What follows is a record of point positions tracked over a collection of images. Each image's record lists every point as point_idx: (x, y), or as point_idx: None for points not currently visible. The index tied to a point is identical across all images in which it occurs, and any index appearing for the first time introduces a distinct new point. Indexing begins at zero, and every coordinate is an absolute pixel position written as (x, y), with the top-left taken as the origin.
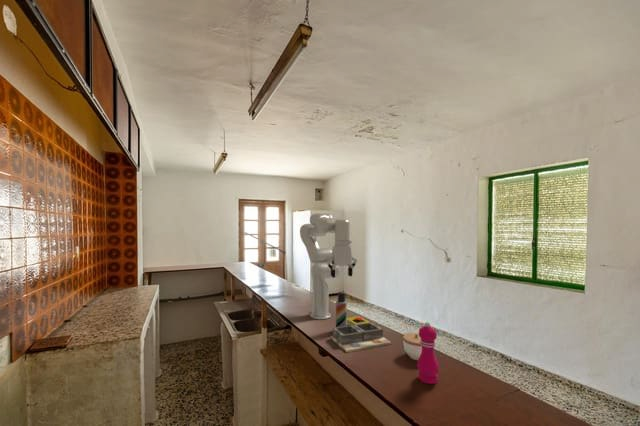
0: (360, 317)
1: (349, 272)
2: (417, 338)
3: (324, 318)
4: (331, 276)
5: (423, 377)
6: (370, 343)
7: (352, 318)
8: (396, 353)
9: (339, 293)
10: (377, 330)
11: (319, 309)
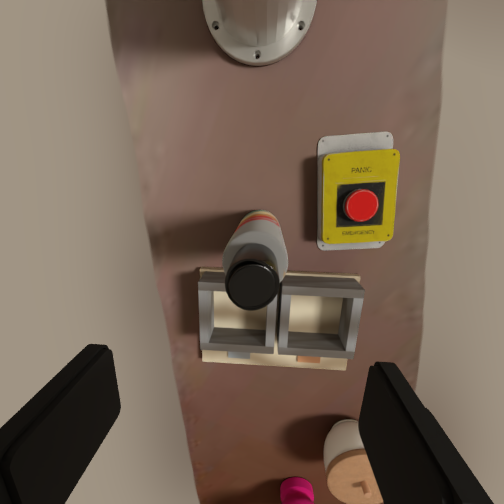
0: (396, 170)
1: (384, 452)
2: (361, 487)
3: (256, 65)
4: (91, 346)
5: (281, 500)
6: (285, 355)
7: (353, 168)
8: (317, 405)
9: (230, 292)
10: (331, 357)
11: (232, 17)
